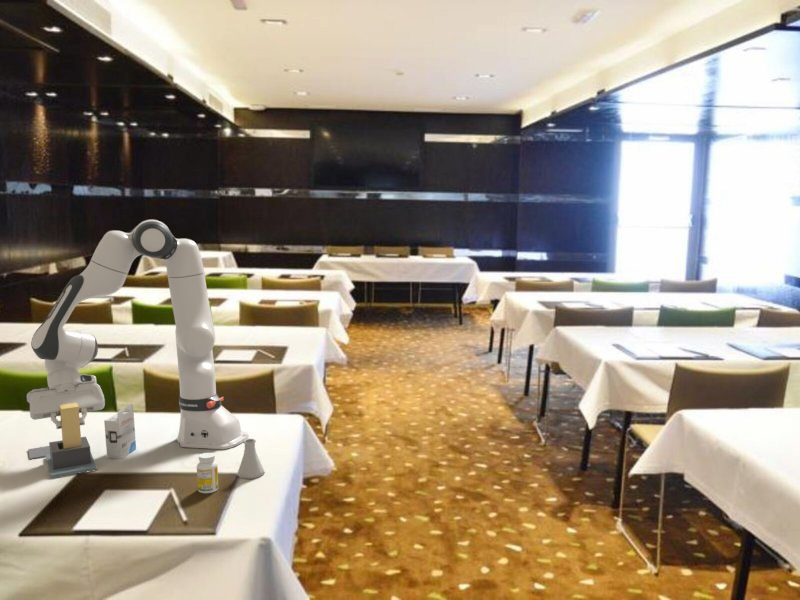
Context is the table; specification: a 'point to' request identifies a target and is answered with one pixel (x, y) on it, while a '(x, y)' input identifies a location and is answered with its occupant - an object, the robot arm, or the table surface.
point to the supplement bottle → (207, 473)
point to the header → (69, 454)
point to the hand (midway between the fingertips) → (70, 426)
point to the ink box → (120, 433)
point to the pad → (39, 452)
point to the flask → (250, 462)
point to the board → (70, 468)
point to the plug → (70, 425)
